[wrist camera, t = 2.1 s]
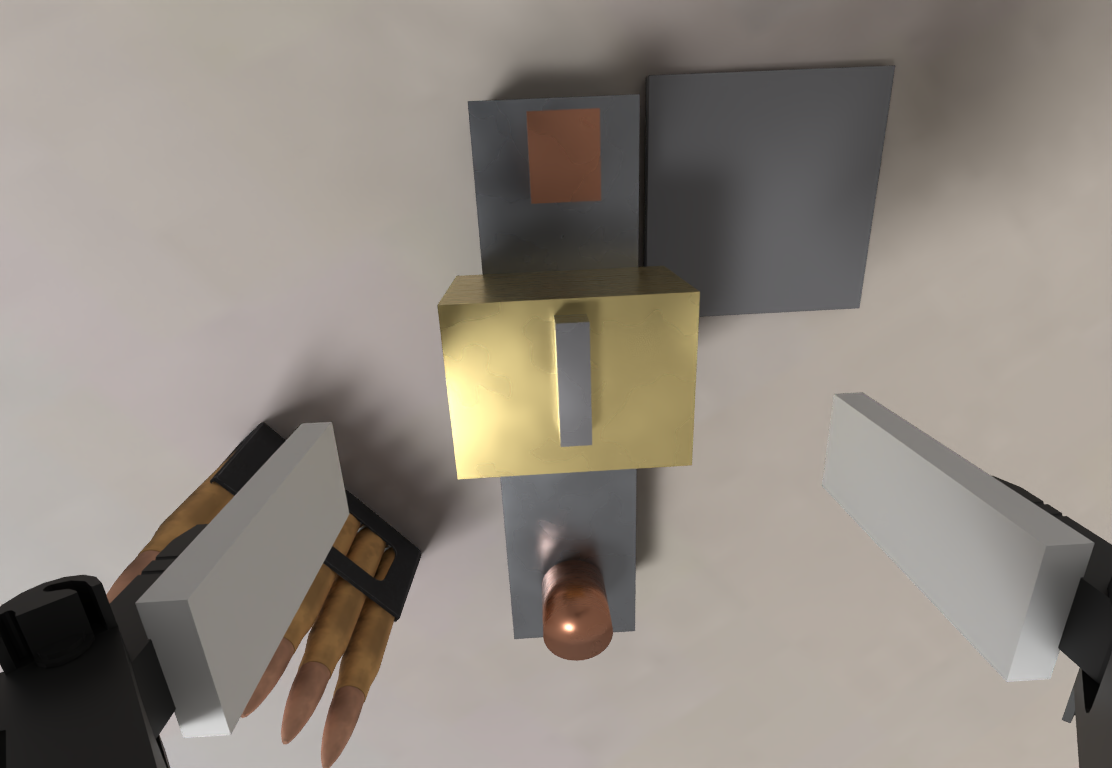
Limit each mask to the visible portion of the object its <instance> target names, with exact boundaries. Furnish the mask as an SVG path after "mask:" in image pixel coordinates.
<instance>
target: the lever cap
mask: <svg viewBox="0 0 1112 768" xmlns="http://www.w3.org/2000/svg"><path fill="white" fill-rule="evenodd" d="M699 303H700V291H698V290H697V289H695V288H694V287H693V286H691V285H690V284H689V283H687V282H686V281H684V280H683V279H682V278H680V277H679V276H677V275H676V274H675V273H673V272H672V271H671V270H669V269H668V268H666V267H665V266H647V267H627V268H607V269H587V270H567V271H547V272H527V273H507V274H487V275H467V276H456V278H455V279H454V281H453V282H452V284H451V285H450V287H449V288H448V290H447V292H446V293H445V295H444V296H443V298H442V299H441V301H440V302H439V304H438V305H437V306H438V314H439V323H440V331H441V340H442V348H443V357H444V365H445V374H446V382H447V391H448V400H449V408H450V417H451V425H452V434H453V442H454V451H455V459H456V468H457V476H458V479H470V478H487V477H504V476H520V475H537V474H554V473H570V472H587V471H604V470H621V469H637V468H654V467H671V466H687V465H692V451H693V430H694V408H695V387H696V366H697V345H698V324H699Z"/></svg>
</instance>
